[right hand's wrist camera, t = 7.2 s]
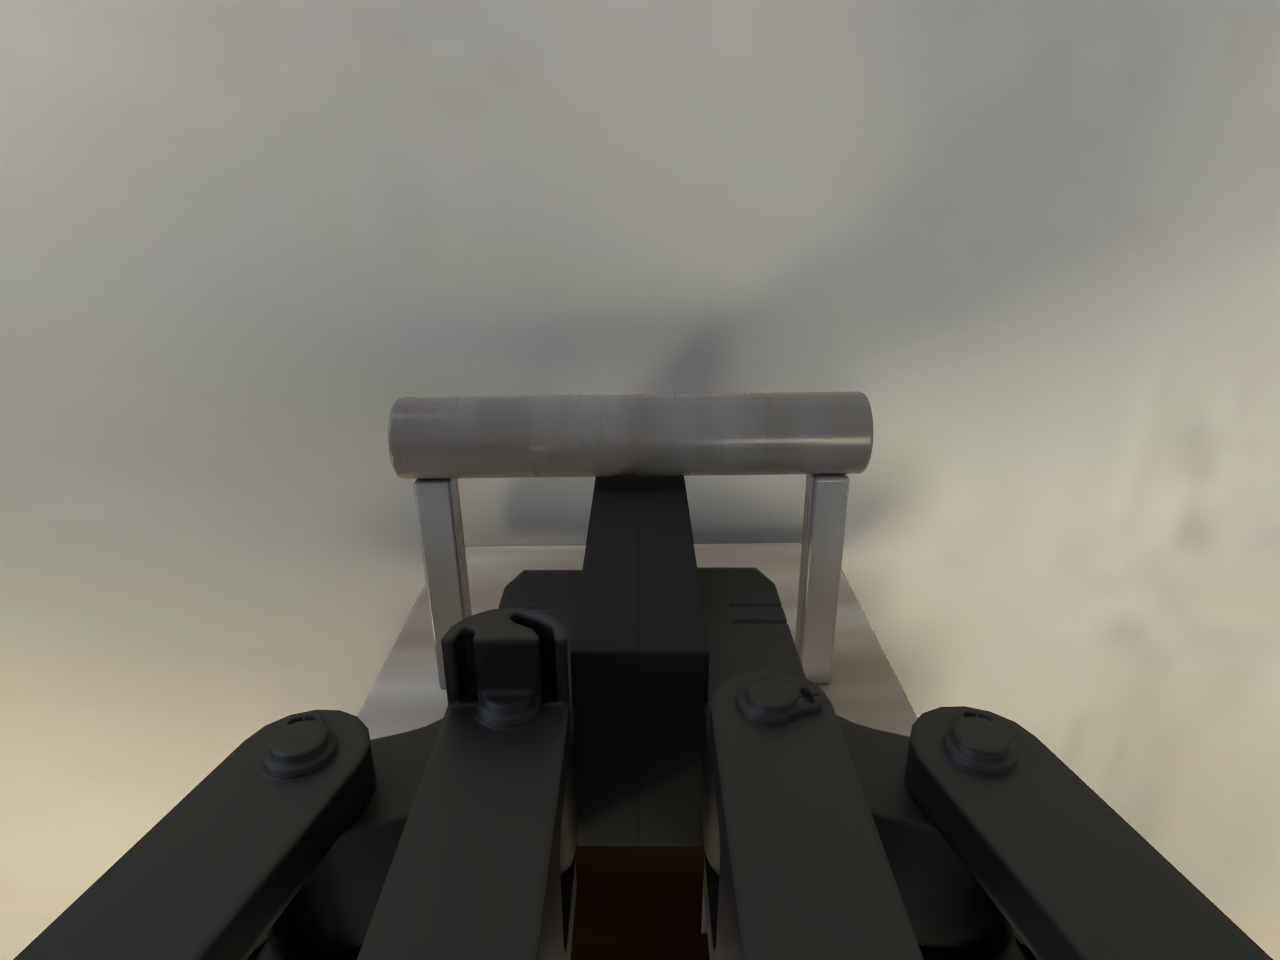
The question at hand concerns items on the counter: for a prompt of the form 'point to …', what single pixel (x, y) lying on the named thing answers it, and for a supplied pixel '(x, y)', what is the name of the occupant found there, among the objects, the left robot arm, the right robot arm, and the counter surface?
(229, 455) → the counter surface
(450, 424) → the drawer
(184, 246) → the counter surface
